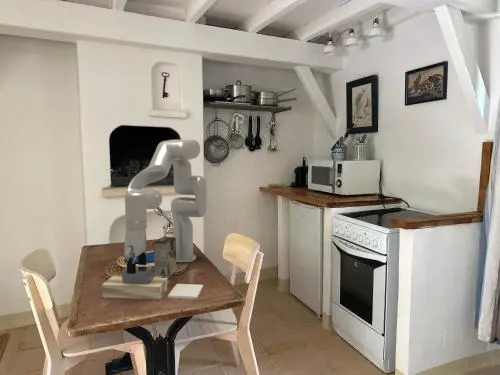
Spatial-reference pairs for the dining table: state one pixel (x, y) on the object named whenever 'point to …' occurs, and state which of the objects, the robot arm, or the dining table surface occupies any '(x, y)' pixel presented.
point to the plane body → (134, 289)
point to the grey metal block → (138, 275)
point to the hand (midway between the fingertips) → (137, 269)
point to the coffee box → (165, 256)
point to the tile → (186, 291)
